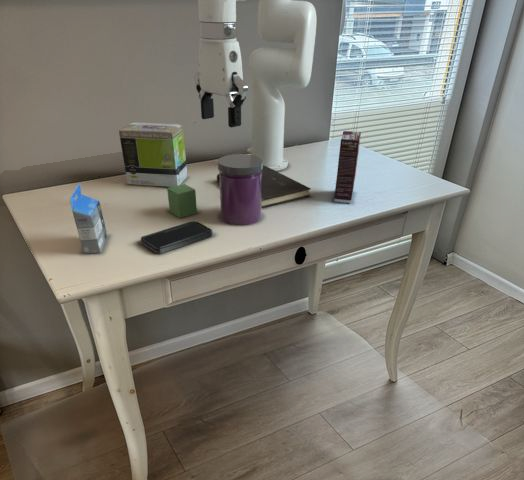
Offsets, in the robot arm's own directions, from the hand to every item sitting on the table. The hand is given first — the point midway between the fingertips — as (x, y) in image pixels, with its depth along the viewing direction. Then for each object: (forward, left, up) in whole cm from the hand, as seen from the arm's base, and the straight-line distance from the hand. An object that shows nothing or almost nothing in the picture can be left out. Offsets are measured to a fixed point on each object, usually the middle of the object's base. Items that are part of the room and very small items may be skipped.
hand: (221, 122), depth 111 cm
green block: (-6, -8, -21) cm, 24 cm away
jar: (+5, +2, -21) cm, 22 cm away
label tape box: (-2, -33, -22) cm, 40 cm away
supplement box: (+11, +32, -22) cm, 40 cm away
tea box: (-30, -2, -22) cm, 37 cm away
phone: (+6, -17, -21) cm, 28 cm away
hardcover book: (-7, +18, -21) cm, 29 cm away
